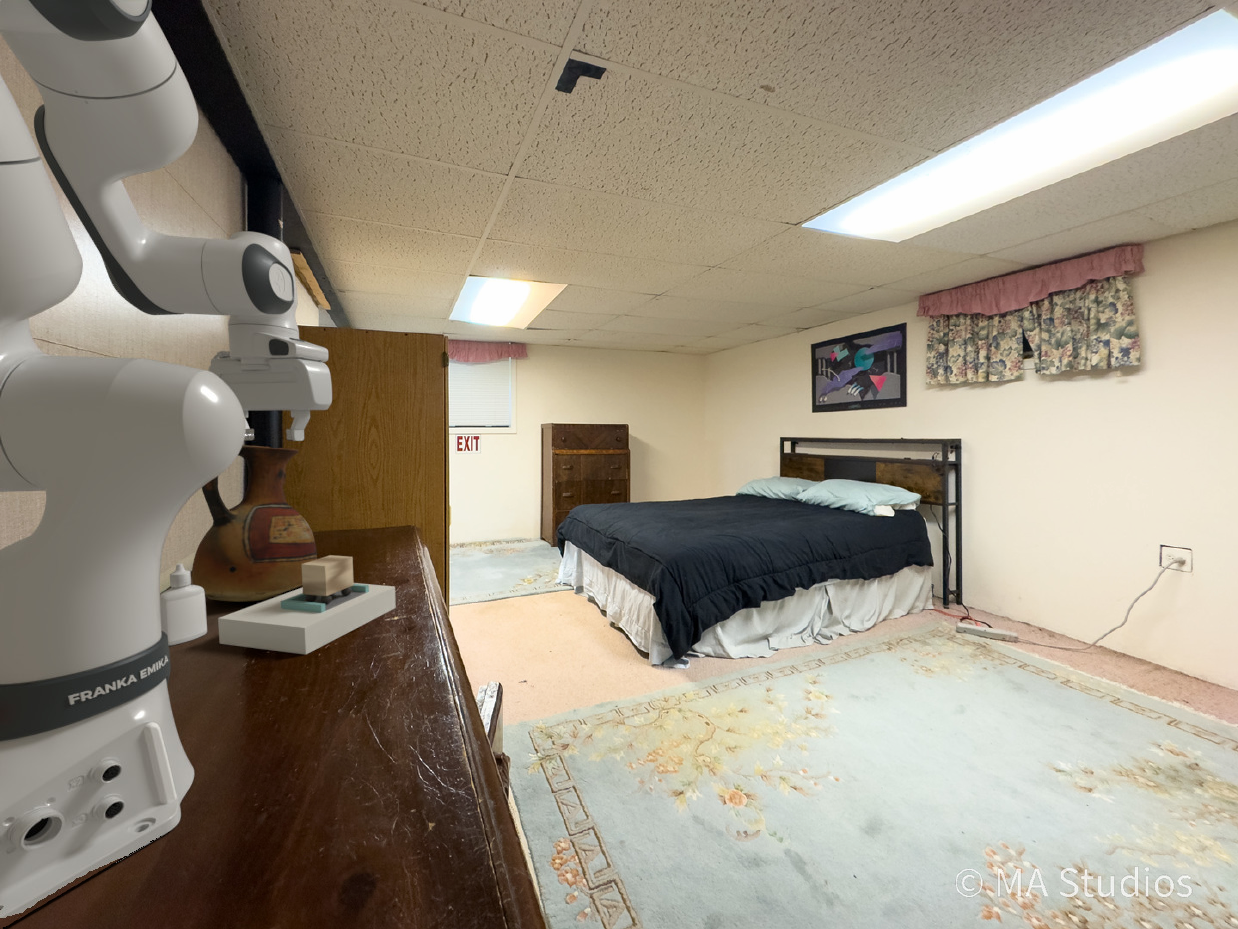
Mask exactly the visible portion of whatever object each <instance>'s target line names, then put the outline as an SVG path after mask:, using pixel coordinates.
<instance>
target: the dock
mask: <svg viewBox="0 0 1238 929" xmlns="http://www.w3.org/2000/svg"><path fill="white" fill-rule="evenodd" d="M353 583H354V585H353V586H350V588H351V589H352V591H351V593H350V594H349V595H347V596H345V595H343V594H342V593H341V591H338V592H336V593H334V594H331V597H332V600H331V602H330V603H328V604H324V603H322V602H321V597H322V596H318V595H316V596H317V598H316V600H315V601H314V602H307V601H306V599H305V598H306V595H307V594H303V586H301V587H300V588H299V587H298V589H297V588H296V589H295V590H294V589H293V590H292V591H291V590H290V591H289V592H286V593H284V594H283V593H282V594H281V595H280V594H279V595H277V596H274V597H273V598H272V597H271V598H268V599H266V600H263V601H261V602H257V603H256V604H253V605H250V606H247V607H245V608H241V609H240V610H237V611H234V612H231V613H229V614H226V615H223V616H219V617H217V621H218V637H219V638H218V639H219V644H221V645H227V646H236V647H243V648H253V649H259V650H268V651H275V652H276V651H277V652H281V653H282V652H283V653H291V654H299V655H308V654H309V653H312V652H313V651H315V650H317V649H319V648H321V647H323V646H325V645H328V644H329V643H331V642H333V641H335V640H336V639H339V638H340V637H342V636H345V635H346V634H348V633H350V632H352V631H354V630H356V629H357V628H360V627H362V626H363V625H366V624H367V623H369V622H371V621H374V620H376V619H377V618H379V617H380V616H383V615H385V614H387V613H389V612H390V611H392V610H394V609H396V605H397V604H396V586H393V585H392V586H391V585H379V584H369V583H358V582H353Z"/></svg>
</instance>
